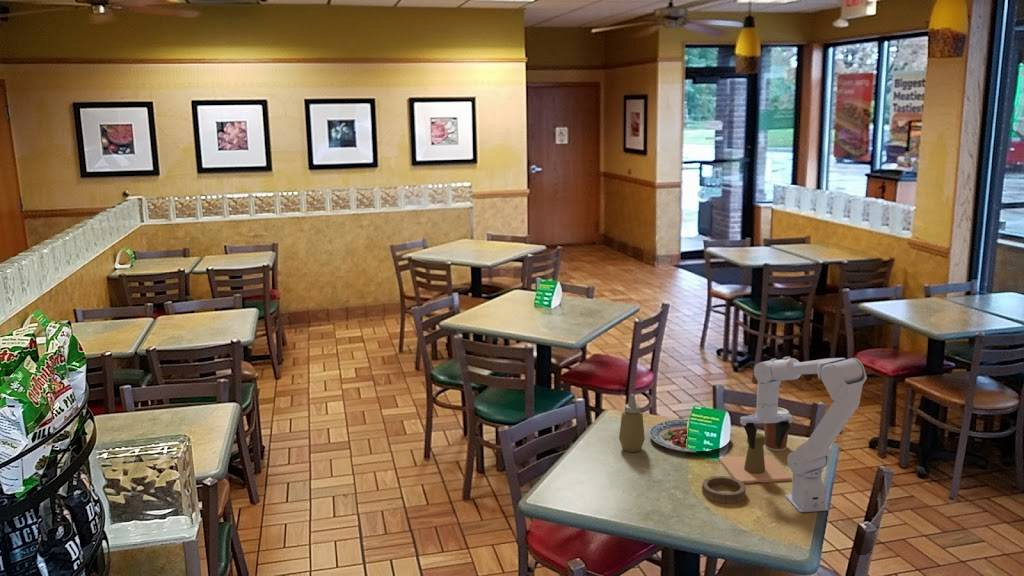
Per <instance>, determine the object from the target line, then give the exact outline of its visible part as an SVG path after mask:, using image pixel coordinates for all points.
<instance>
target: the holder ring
mask: <svg viewBox="0 0 1024 576" xmlns="http://www.w3.org/2000/svg"><path fill="white" fill-rule="evenodd" d="M713 487H726V488H731V489H734V490H736V491H734V492H733V491H732V492H723V491H717V490H714V489H712V488H713ZM746 487H747V486H746V485H745V484H743V483H742V482H741V481H739V480H737V479H735V478H733V477H732V476H731V477H730V476H726V475H713V476H710V477H707V478H705V479H704V480H703V482H702V484H701V493H702V495H703V496H704V498H706V499H708V500H710V501H712V502H714V503H721V504H737V503H739V502H741V501H744V499H745V496H746Z"/></svg>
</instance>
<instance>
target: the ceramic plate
mask: <svg viewBox="0 0 1024 576" xmlns="http://www.w3.org/2000/svg"><path fill="white" fill-rule="evenodd" d="M688 420H689V418H688V419H687V418H686V419H671V420H665V421H661V422H658V423H656V424H654V425H653V426H652V427H651V428H650V429H649V432H648V434H649V437H650V439H651V440H652V441H653V442H654V443H656V444H658V445H659V446H662V447H664V448H666V449H671V450H675V451H679V452H689V453H697V452H696V451H693V450H690V449H686V439H687V421H688ZM731 439H732V437H730V441H731Z"/></svg>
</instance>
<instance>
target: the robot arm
mask: <svg viewBox="0 0 1024 576" xmlns="http://www.w3.org/2000/svg"><path fill="white" fill-rule="evenodd" d="M753 375H754V377H755V380H757V388H756V389H757V391H756V406H755V407H756V411H755V413H754V414H749V415H744V416H740V418H739V419H740V420H739V423H740V424H741V426H743V428H744V430H745V434H746V435H747V437H748V440H749V444H748V446H750V447H751V449H754V448H755V436H756V433H758V429H757V428H756V425H759V424H760V425H761V424H764V423H775V428H776V436H775V445H776V446H777V447H781V444H782V441H783V438H784V436H785V434H786V433H787V431H788V430H790V429H791V424H792V423H793V420H792V419H793V418H794V417H793V415H792V414H790V413H789V414H777V411H778V407H779V393H780V392H779V391H780V386H781V385H782V383H781V382H782V381H791V380H792V381H794V380H798V379H799V378H800V377H801V376H802V375H817V377H818V380H821V382H822V384H823V385H824V387H825V389H826V391H827V393H828V395H829V397H830V399H831V400H833V402H832V404H831V405H830V407H829V408H828V410H827V411H826V412H825V414H824V416H822V418H821V420H820V422H818V425H816V427H815V428H814V430H813V432H812V433H811V435H810V436H809V437H808V439H807V440H806V441H804V442H803V443H802V444H800V445H798V446H797V448H795V450H793V451H791V452H789V453H788V455H787V458H786V459H787V465H788V468H789V470H790V471H791V473H792V480H791V482H792V484H791V493H788V494H787V493H786V494H784V495H785V497H786V499H787V500H788V501H789V502H790V503H791V504H792V506H794V508H795V509H796V510H797V512H799V513H809V512H825V511H826V512H827V511H829V508H828V506H826V500H827V487H826V485H825V484H824V481H823V480H822V473H823V472H824V468H825V467H827V466H828V464H829V462H830V456H831V455H832V453H833V452H832V450H831V448H830V447H831V446H832V444H833V443H834V442H835V440H836V439H837V437H838V436H839V435H840V433H841V432H842V430H843V429H844V427H845V426H846V425H847V423H848V421H849V420H850V419H851V417H852V416H853V415H854V413H855V412H856V411H857V409H858V408H859V406H860V402H861V398H862V391H863V385H864V383H865V382H866V381H867V379H868V376H867V372H866V369H865V367H864V364H863V363H862V362H861V361H860V360H859V359H858V358H855V357H850V358H847V359H846V358H845V357H832V358H830V357H828V358H822V359H821V358H820V359H816V360H815V359H814V360H807V361H802V362H801V361H799V360H798V359H797V358H793V357H791V356H790V355H789V356H784V357H782V359H777V358H771V359H770V360H765V361H761V362H758V363H755V365H754V368H753ZM788 423H790V425H789V424H788Z"/></svg>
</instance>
